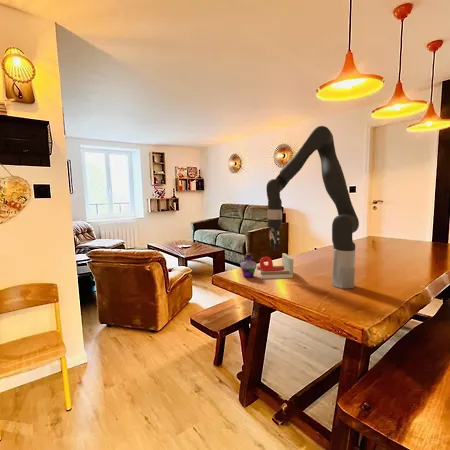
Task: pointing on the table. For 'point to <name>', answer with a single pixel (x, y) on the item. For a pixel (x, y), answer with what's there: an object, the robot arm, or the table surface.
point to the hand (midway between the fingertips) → (274, 248)
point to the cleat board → (287, 273)
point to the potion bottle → (248, 266)
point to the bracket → (269, 266)
